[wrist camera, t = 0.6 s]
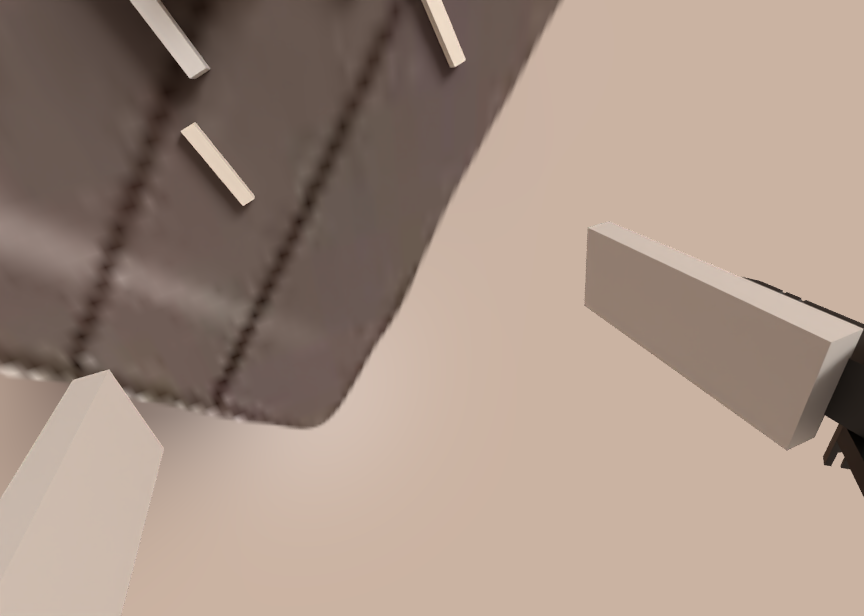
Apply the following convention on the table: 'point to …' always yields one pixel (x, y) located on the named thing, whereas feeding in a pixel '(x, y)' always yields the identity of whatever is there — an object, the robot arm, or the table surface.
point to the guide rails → (172, 36)
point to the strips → (227, 173)
